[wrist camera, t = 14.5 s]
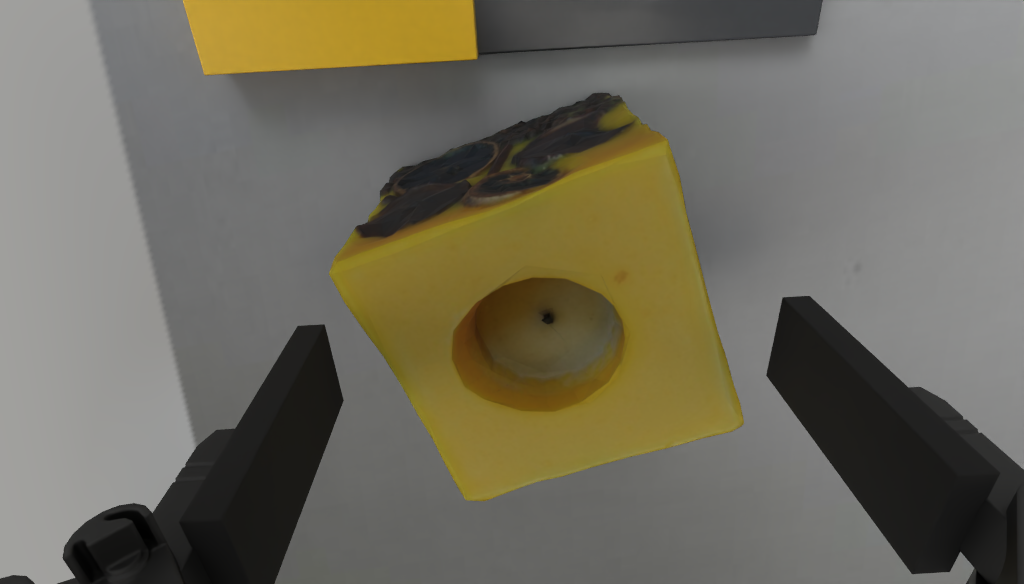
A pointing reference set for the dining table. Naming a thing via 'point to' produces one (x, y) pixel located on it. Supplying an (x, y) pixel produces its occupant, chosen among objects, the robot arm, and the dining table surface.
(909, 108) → the dining table surface
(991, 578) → the robot arm
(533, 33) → the knife
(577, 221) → the candle
